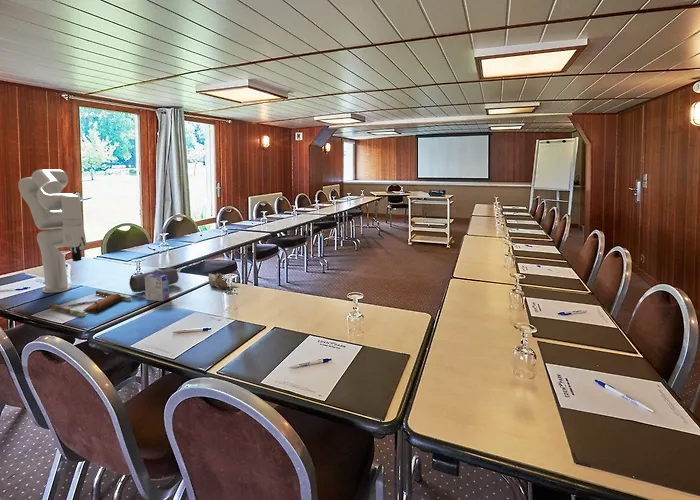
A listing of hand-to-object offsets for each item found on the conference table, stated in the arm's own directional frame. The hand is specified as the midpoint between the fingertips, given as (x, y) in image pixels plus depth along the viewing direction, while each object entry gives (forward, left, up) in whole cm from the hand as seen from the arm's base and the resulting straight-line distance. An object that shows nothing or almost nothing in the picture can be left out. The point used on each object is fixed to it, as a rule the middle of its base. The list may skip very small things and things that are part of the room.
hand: (77, 260), depth 195 cm
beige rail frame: (+7, 0, -21) cm, 22 cm away
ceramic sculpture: (+42, +50, -21) cm, 68 cm away
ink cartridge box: (+28, +19, -21) cm, 40 cm away
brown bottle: (+14, +1, -21) cm, 25 cm away
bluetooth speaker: (+14, +30, -21) cm, 40 cm away
